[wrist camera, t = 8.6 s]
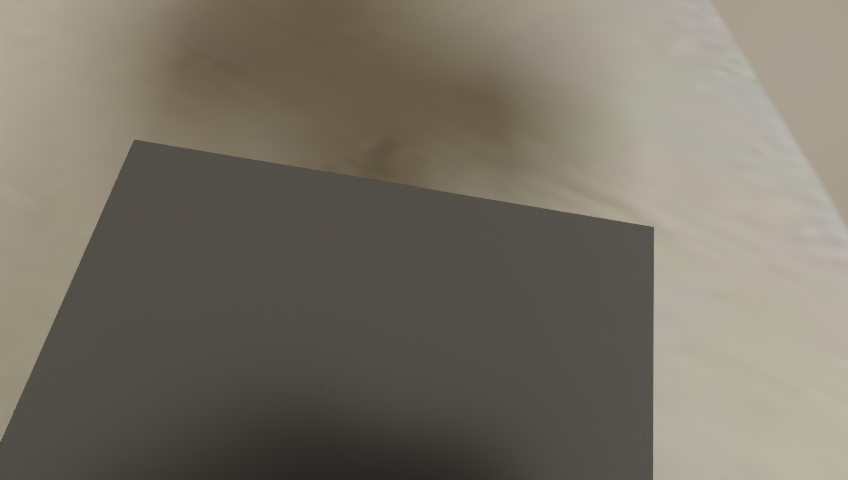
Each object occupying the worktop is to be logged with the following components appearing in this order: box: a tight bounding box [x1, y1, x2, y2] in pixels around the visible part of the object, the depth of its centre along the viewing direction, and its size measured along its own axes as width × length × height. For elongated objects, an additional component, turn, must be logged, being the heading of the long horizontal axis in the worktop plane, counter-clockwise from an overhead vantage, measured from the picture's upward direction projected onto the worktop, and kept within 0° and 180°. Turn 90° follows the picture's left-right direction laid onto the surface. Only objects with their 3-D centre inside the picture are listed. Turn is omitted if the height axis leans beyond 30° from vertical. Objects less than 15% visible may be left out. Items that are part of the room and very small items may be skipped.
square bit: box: [0, 140, 654, 480], centre depth 9 cm, size 4×4×12 cm
